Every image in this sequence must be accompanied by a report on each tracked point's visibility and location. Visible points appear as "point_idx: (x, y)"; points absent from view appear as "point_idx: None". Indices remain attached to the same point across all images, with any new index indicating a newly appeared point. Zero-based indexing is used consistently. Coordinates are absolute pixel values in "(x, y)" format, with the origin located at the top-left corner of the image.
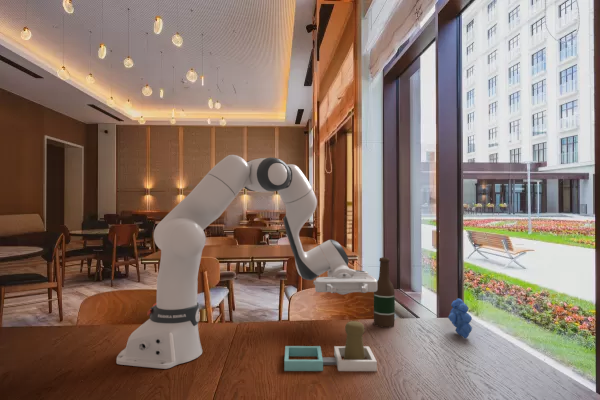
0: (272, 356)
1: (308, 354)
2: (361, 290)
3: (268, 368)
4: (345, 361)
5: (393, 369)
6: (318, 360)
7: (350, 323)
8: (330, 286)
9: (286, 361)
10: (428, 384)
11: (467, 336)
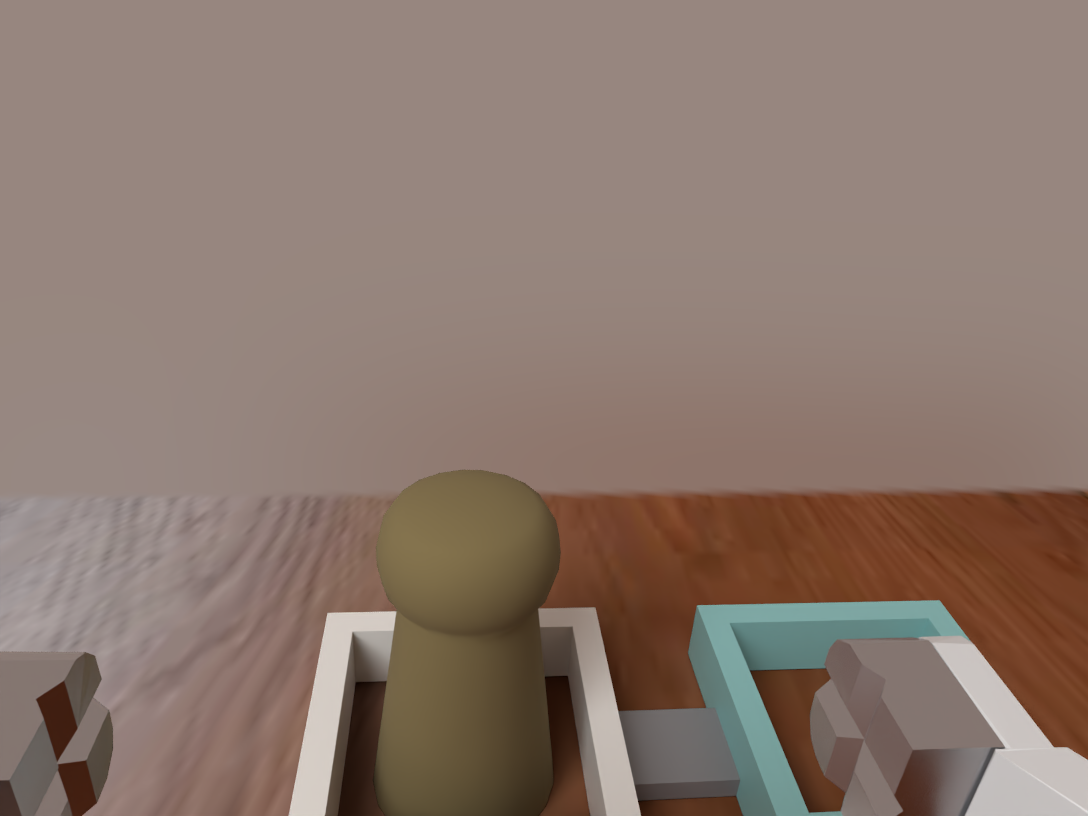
0: None
1: None
2: (69, 794)
3: (1037, 671)
4: (547, 609)
5: (197, 689)
6: (729, 612)
7: (514, 489)
8: (1061, 757)
9: (926, 601)
10: (96, 555)
11: None
